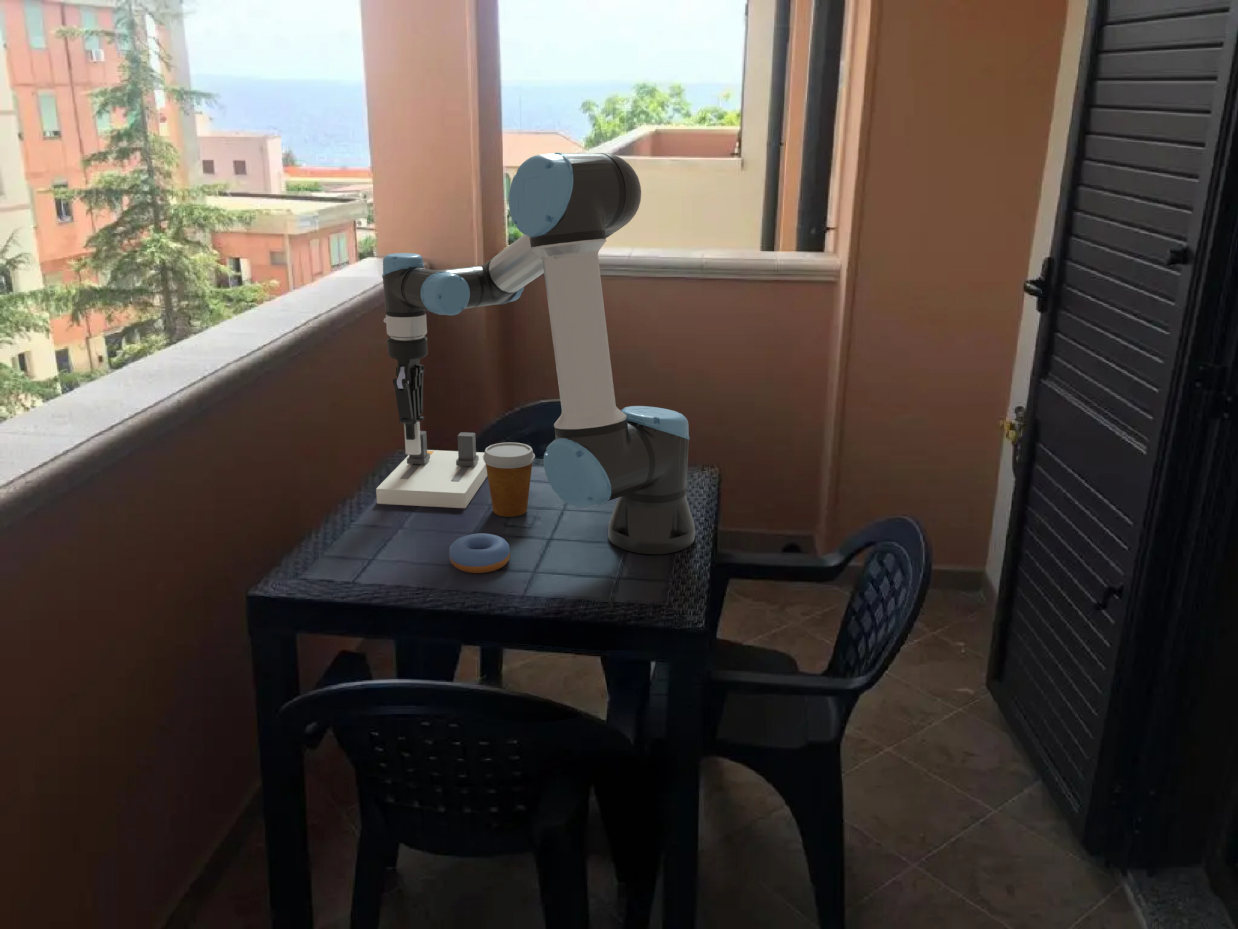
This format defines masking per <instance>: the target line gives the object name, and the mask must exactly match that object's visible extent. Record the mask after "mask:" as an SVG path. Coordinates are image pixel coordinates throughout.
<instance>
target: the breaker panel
mask: <svg viewBox="0 0 1238 929" xmlns="http://www.w3.org/2000/svg"><path fill="white" fill-rule="evenodd" d="M427 453H430V459H429V460H428V461H427V462H426V463H425V464H407V458H408V457H409V454H407V456H406V457H405V458H404V460H402V461H401V462H400V463H399V464H398V465H397V467H396V468H395V469H393V470H392V472H390V474H388V475H387V477H386V478H385V479H384V480H383V481H381V483H380V484H379V485H378V486H377V487H376V489H375V491H376V493H375V494H376V503H377V504H378V505H397V506H398V505H399V506H401V505H402V506H414V507H415V506H419V507H436V508H451V509H452V508H455V509H467V507H468V505H469V503H470V502H471V501H472V499H473V498H474V496H475V495H476V493H477V492H478V490H479V489H480V487H481V486H482V485H483V484H484V481H485V480H486V478H488V475H487V470H486V463H485V462H484V460H483V455H484V453H485V452H483V451H482V452H479V451H476V455H478V456H479V460H478V462H477V463H476V464H475V466H456V460H457V459H458V450H441V449H440V450H439V449H436V450H435V449H427Z"/></svg>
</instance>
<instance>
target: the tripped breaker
mask: <svg viewBox="0 0 1238 929" xmlns="http://www.w3.org/2000/svg"><path fill="white" fill-rule="evenodd" d="M420 440H421V453H420V454H419V455H411V454H408V455H409V457H408V458H407V464H425V463H426V462H427V461H428V460H429V459H430V453H427V450H428V441H427V440H428V439H427V430H420Z"/></svg>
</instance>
